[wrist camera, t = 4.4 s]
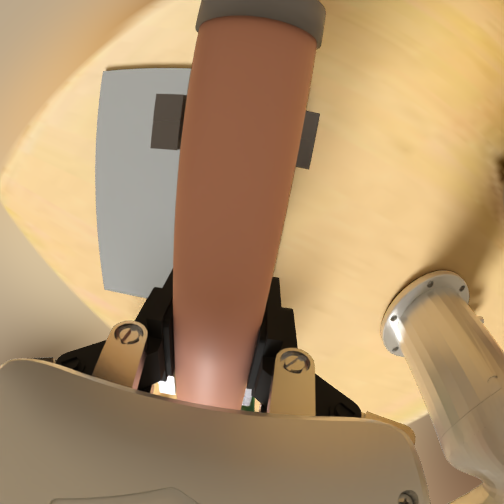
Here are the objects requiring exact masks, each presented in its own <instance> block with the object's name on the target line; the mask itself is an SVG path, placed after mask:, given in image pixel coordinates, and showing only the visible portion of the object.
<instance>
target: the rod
mask: <svg viewBox="0 0 504 504" xmlns="http://www.w3.org/2000/svg"><path fill="white" fill-rule="evenodd" d="M325 15H326V11H325V8H324V6H323V5H322V4H321V3H320V2H319V1H318V0H202V1H201V5H200V9H199V13H198V18H197V22H196V31H197V32H198V37H197V42H196V47H195V52H194V57H193V63H192V68H191V74H190V80H189V87H188V93H187V100H186V107H185V114H184V122H183V130H182V139H181V148H180V158H179V169H178V180H177V193H176V208H175V227H174V253H173V335H174V360H175V378H176V393H177V400H182V401H187V402H192V403H198V404H203V405H209V406H215V407H221V408H228V409H236V410H241V406H242V402H243V398H244V395H245V391H246V387H247V380H248V376H249V372H250V368H251V364H252V360H253V356H254V352H255V348H256V343H257V339H258V335H259V331H260V326H261V324H262V320H263V316H264V312H265V308H266V303H267V299H268V294H269V290H270V285H271V281H272V277H273V272H274V267H275V263H276V258H277V254H278V249H279V244H280V240H281V235H282V230H283V226H284V221H285V216H286V211H287V206H288V201H289V196H290V191H291V186H292V181H293V176H294V171H295V166H296V161H297V156H298V151H299V145H300V140H301V135H302V129H303V124H304V118H305V113H306V107H307V102H308V96H309V90H310V84H311V78H312V73H313V67H314V60H315V54H316V50H317V49H318V48H320V46H321V42H322V35H323V29H324V22H325Z"/></svg>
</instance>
